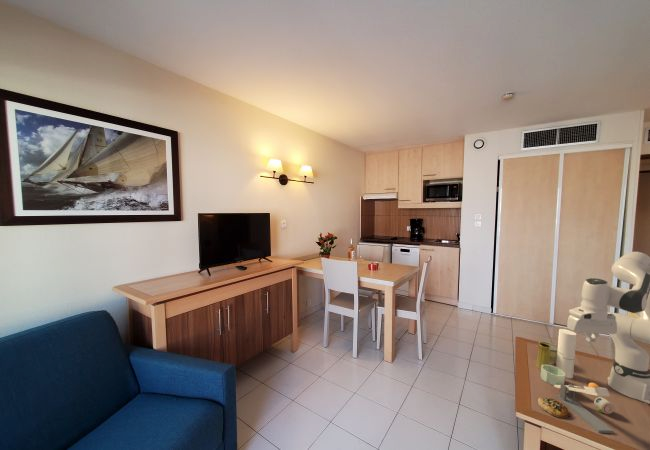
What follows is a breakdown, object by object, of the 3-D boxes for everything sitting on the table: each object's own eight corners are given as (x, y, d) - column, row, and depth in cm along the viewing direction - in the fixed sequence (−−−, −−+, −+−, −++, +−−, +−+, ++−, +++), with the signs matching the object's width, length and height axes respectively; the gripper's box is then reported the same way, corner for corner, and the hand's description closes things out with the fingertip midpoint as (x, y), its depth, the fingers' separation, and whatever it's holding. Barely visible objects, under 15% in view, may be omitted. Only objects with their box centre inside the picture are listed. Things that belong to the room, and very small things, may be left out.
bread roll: (571, 410, 117) (571, 400, 116) (566, 426, 110) (566, 415, 109) (540, 397, 125) (540, 388, 125) (534, 410, 119) (534, 401, 118)
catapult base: (556, 396, 125) (557, 381, 125) (568, 397, 125) (569, 382, 125) (598, 432, 105) (600, 414, 105) (613, 432, 105) (615, 414, 105)
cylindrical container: (561, 369, 148) (564, 328, 146) (576, 377, 141) (579, 334, 139) (552, 371, 146) (555, 329, 144) (567, 379, 139) (570, 335, 137)
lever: (549, 386, 130) (547, 380, 131) (573, 387, 129) (571, 381, 131) (597, 396, 106) (594, 388, 108) (628, 397, 106) (625, 389, 107)
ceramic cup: (550, 367, 150) (552, 351, 149) (533, 357, 159) (534, 342, 159) (566, 364, 153) (567, 348, 152) (548, 354, 163) (549, 340, 162)
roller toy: (591, 406, 119) (592, 395, 119) (605, 407, 119) (606, 395, 119) (601, 414, 115) (602, 402, 114) (615, 415, 115) (616, 403, 114)
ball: (599, 393, 110) (592, 385, 113) (604, 389, 108) (596, 381, 111) (591, 393, 110) (584, 385, 113) (595, 389, 108) (588, 380, 111)
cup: (553, 375, 142) (554, 365, 142) (569, 387, 133) (570, 376, 132) (536, 374, 142) (536, 364, 142) (551, 386, 133) (551, 375, 132)
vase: (552, 372, 145) (554, 348, 144) (540, 370, 146) (541, 347, 145) (545, 365, 151) (546, 343, 150) (533, 364, 152) (535, 341, 151)
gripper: (608, 311, 122) (605, 338, 123) (565, 309, 122) (563, 337, 123) (623, 316, 115) (620, 345, 116) (578, 315, 116) (575, 344, 117)
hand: (590, 341), depth 120 cm, fingers closed
